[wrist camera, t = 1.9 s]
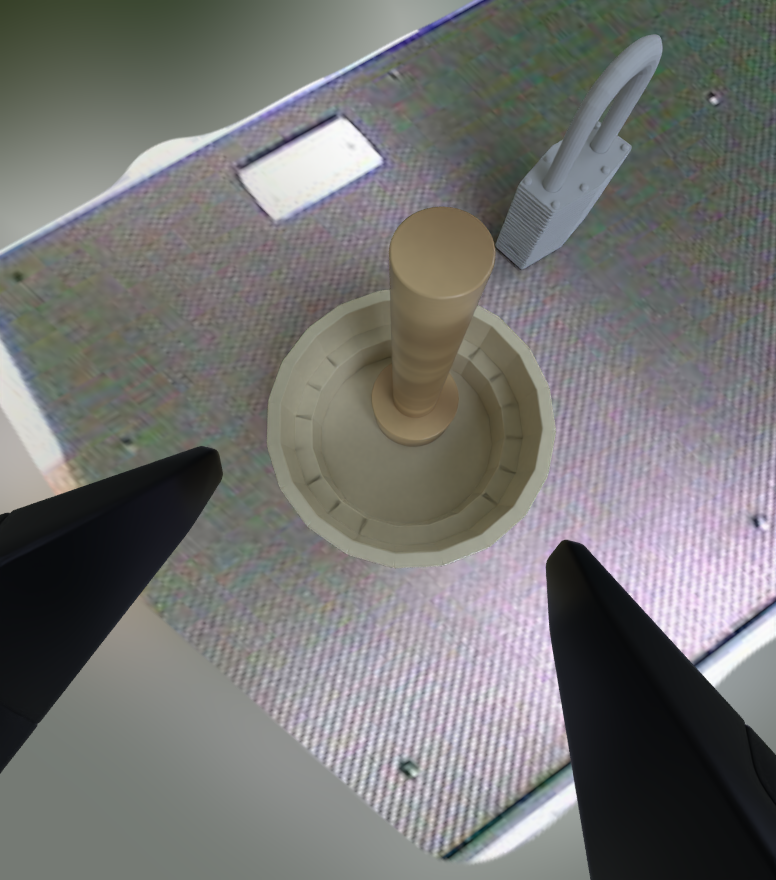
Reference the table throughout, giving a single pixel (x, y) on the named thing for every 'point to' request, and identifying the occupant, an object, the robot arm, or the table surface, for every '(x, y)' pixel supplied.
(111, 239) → the table surface
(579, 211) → the padlock
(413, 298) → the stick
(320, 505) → the bowl
